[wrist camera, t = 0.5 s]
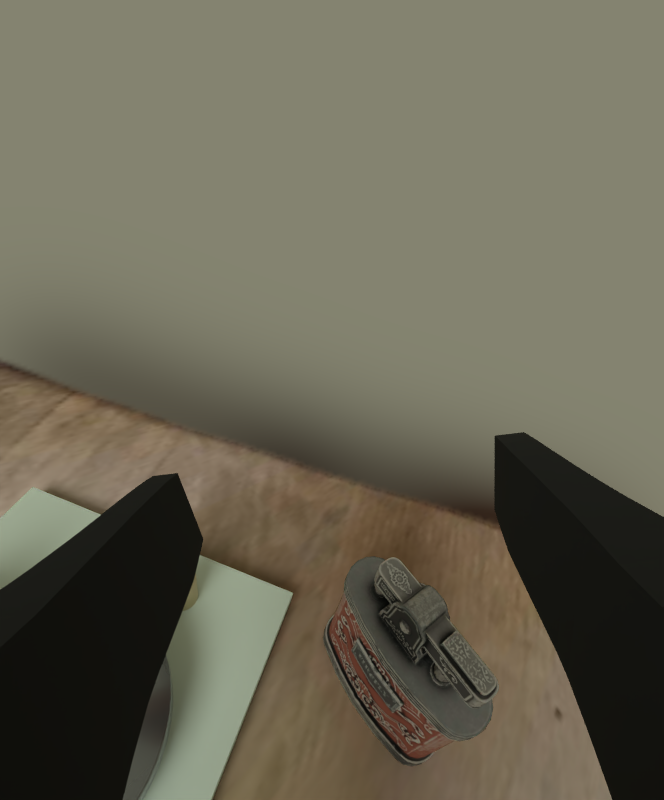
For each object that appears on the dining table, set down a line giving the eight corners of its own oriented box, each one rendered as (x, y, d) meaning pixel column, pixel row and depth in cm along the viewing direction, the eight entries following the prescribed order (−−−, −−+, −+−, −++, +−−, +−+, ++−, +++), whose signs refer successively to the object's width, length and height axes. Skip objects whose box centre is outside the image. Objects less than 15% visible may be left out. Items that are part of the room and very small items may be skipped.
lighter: (309, 635, 26) (339, 553, 19) (354, 602, 27) (396, 516, 20) (402, 785, 21) (483, 749, 15) (448, 735, 23) (540, 683, 16)
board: (76, 1144, 14) (18, 1250, 10) (-355, 881, 16) (-534, 888, 12) (291, 599, 27) (301, 557, 23) (37, 495, 29) (9, 441, 25)
